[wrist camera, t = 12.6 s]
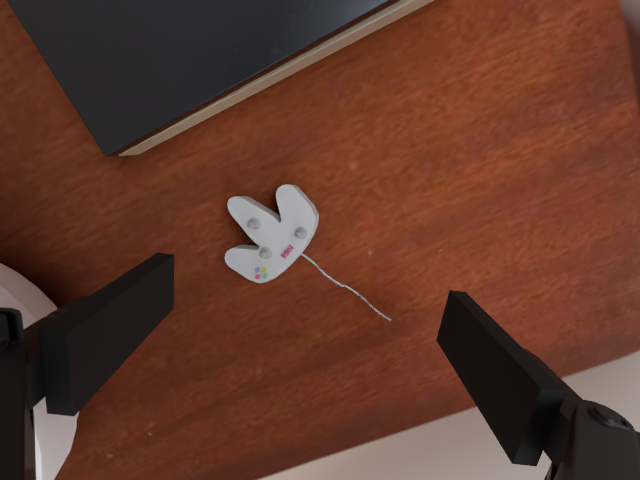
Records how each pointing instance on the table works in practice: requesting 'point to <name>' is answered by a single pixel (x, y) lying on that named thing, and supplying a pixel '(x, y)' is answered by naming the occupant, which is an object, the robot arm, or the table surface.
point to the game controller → (274, 235)
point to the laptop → (286, 70)
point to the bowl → (50, 429)
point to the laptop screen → (172, 53)
